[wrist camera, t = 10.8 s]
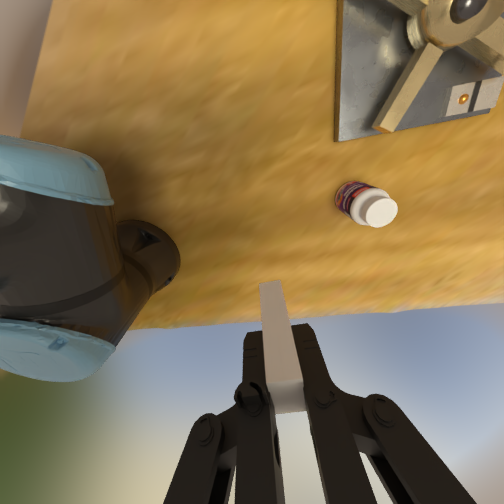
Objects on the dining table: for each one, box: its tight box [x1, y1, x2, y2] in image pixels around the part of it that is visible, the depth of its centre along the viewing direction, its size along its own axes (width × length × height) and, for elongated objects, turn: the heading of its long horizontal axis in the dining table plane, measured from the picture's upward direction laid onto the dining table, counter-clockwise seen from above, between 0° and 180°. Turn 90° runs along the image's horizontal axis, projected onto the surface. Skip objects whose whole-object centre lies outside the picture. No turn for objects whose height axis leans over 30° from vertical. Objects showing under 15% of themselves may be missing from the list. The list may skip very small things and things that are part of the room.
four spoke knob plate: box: [372, 0, 504, 133], centre depth 20 cm, size 22×22×4 cm
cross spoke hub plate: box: [334, 0, 504, 142], centre depth 23 cm, size 20×20×3 cm
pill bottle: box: [335, 181, 398, 227], centre depth 30 cm, size 5×5×10 cm
